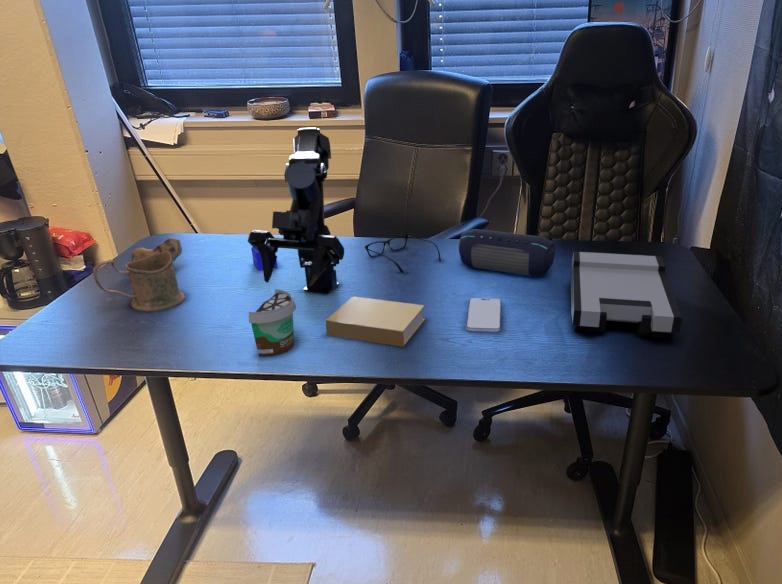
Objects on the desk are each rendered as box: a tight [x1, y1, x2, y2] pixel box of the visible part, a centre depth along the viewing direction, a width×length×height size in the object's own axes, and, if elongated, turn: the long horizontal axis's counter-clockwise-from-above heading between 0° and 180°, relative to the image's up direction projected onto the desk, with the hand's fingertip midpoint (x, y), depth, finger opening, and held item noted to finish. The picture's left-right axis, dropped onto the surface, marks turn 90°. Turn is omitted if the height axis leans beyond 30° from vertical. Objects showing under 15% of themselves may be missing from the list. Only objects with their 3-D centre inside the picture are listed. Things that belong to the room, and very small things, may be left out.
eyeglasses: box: [364, 234, 442, 274], centre depth 170 cm, size 16×16×4 cm
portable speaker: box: [458, 228, 556, 277], centre depth 161 cm, size 25×10×10 cm, turn 68°
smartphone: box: [465, 297, 502, 333], centre depth 139 cm, size 7×1×15 cm
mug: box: [92, 251, 186, 312], centre depth 141 cm, size 12×18×12 cm, turn 137°
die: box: [250, 247, 278, 272], centre depth 165 cm, size 5×5×5 cm
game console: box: [570, 251, 683, 339], centre depth 139 cm, size 21×32×8 cm, turn 171°
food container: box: [248, 288, 297, 358], centre depth 124 cm, size 12×6×10 cm, turn 168°
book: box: [325, 295, 426, 348], centre depth 133 cm, size 17×13×4 cm
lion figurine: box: [130, 236, 183, 263], centre depth 160 cm, size 15×5×9 cm, turn 103°
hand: (287, 283), depth 125 cm, fingers open, 9 cm apart
